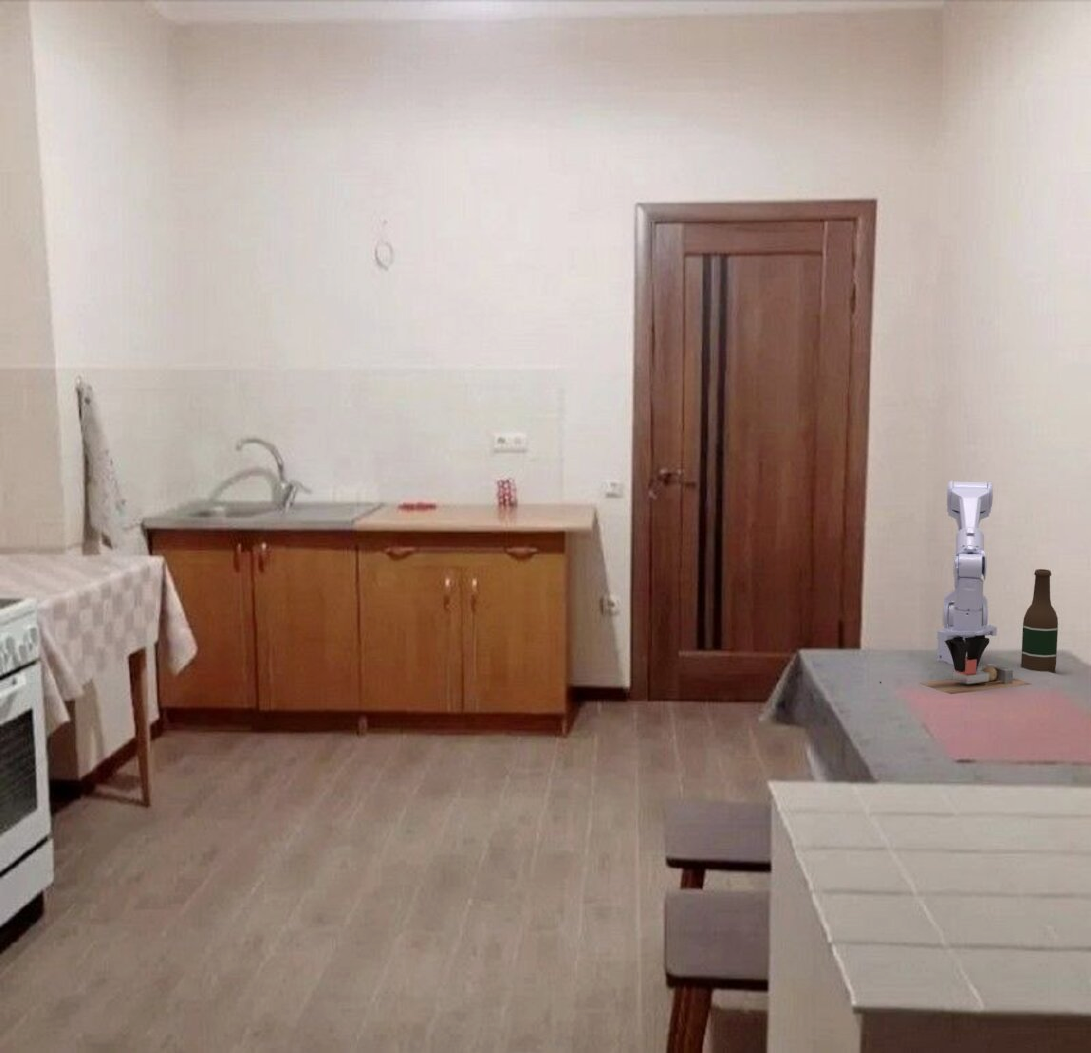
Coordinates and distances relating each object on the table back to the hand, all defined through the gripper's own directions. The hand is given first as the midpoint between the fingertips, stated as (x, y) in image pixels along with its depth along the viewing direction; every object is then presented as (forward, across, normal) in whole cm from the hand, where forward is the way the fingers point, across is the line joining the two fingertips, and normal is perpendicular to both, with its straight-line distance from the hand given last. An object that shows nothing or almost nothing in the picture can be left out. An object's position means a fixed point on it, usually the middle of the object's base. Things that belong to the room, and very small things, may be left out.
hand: (965, 670), depth 240 cm
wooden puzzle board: (+4, +3, 0) cm, 5 cm away
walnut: (+3, +6, 0) cm, 7 cm away
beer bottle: (+5, +27, +6) cm, 28 cm away
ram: (+2, +1, 0) cm, 3 cm away
